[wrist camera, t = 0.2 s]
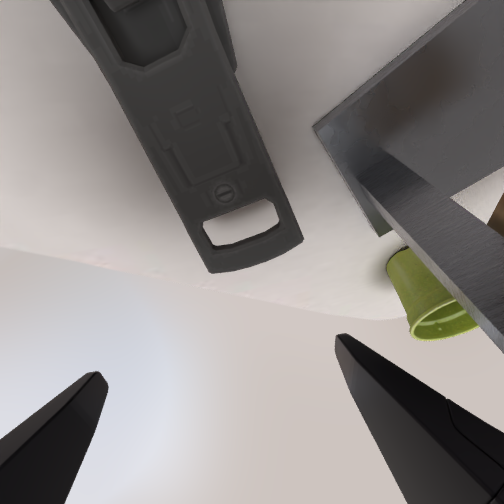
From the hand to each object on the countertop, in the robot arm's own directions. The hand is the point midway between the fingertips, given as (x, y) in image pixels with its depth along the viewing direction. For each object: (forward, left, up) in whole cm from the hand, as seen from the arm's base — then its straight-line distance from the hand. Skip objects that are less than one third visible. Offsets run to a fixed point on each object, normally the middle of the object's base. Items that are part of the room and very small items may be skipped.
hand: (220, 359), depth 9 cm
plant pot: (-2, +27, -16) cm, 31 cm away
